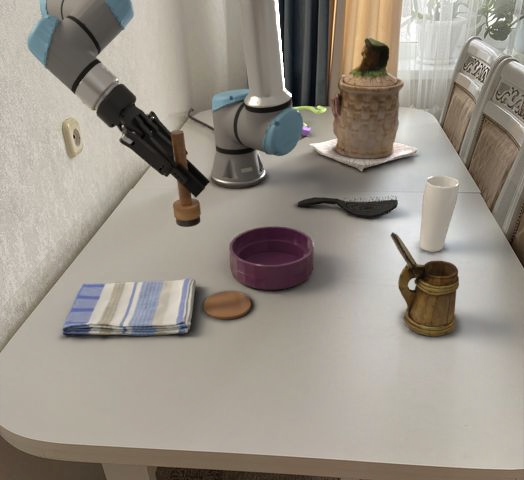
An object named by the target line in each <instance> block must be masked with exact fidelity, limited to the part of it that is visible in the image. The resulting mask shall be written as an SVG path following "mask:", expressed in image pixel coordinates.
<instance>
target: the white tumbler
mask: <svg viewBox="0 0 524 480" xmlns="http://www.w3.org/2000/svg"><path fill="white" fill-rule="evenodd" d="M459 189H460V181H459V180H458V179H456V177H455V178H454V177H452V176H448V175H434V176H433V175H432V176H430V177H427V179H426V180H425V185H424V188H423V195H422V204H421V219H420V232H419V240H418V246H419V247H420V249H422V250H423V251H426V252H430V253H436V252H439V251H442V250H443V249H444V246H445V243H446V238H447V234H448V231H449V228H450V225H451V221H452V218H453V214H454V211H455V208H456V204H457V200H458V196H459V195H458V194H459Z"/></svg>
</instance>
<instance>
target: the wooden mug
mask: <svg viewBox="0 0 524 480" xmlns="http://www.w3.org/2000/svg"><path fill="white" fill-rule="evenodd" d="M390 238H391V239H392V242H393V243H394V245H395V247H396V248H397V250H398V253H399V254H400V255H401V257H402V258H403V259H404V261H405V263H406V264H405V266H404V267H403V268H402V270H401V272H400V274H399V277H398V280H397V282H398V283H397V284H398V285H397V286H398V290H399V292H400V294H401V296H402V298H403V299H404V301H405V303H406V309H405V312H404V315H403V322H404V324H405V325H406V326H407V327H408V329H410V330H411V331H412V332H414V333H416V334H418V335H421V336H426V337H441V336H445V335H447V334H450V333H451V332H453V331H454V330H455V328H456V320H457V319H456V318H457V317H456V314H455V313H456V299H457V290H458V289H459V287H460V277H459V269H458V268H457V266H456V265H455V264H454V263H452V262H449V261H445V260H430V261H427V262H425V263H424V264H420V263H417V261H416V260H415V258H414V257H413V255H412V254H411V252H410V250H409V249H408V247H407V246H406V245H405V243H404V242H403V240H402V239H401V237H400V236H399V235H398V234H397V233H396V232H391V234H390ZM413 279H414V285H415V286H414V289H411V288H410V287H409V283H410V281H411V280H413Z"/></svg>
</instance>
